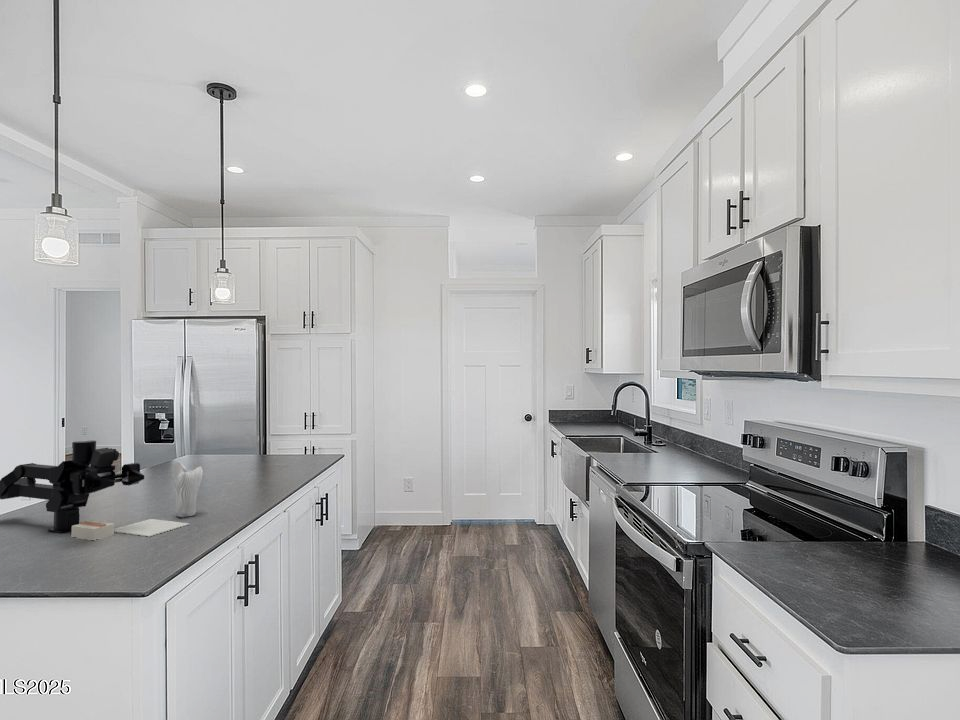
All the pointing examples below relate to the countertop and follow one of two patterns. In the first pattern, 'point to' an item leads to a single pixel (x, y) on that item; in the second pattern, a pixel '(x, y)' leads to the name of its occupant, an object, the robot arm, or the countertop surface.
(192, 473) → the shell sculpture
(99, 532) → the card box
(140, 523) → the mat
